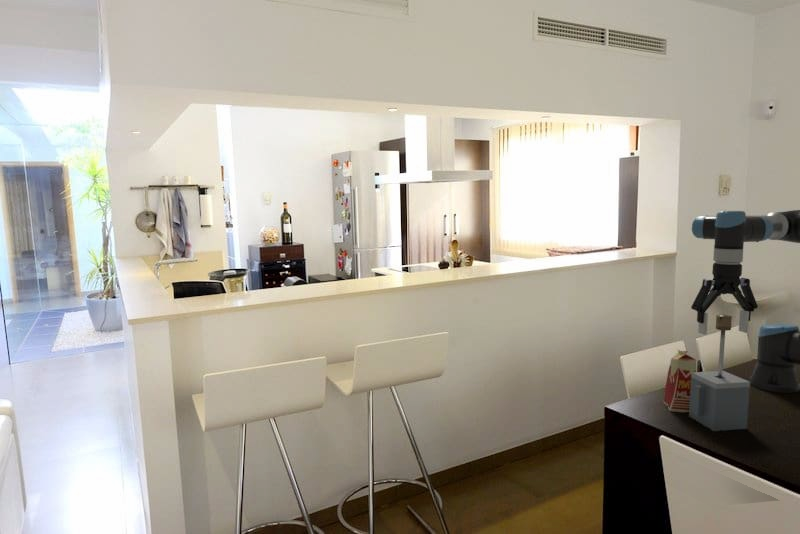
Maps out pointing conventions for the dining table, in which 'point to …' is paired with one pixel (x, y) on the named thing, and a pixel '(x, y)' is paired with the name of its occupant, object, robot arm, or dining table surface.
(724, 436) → the dining table surface
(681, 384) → the milk carton
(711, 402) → the grey box with hole
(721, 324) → the plunger
